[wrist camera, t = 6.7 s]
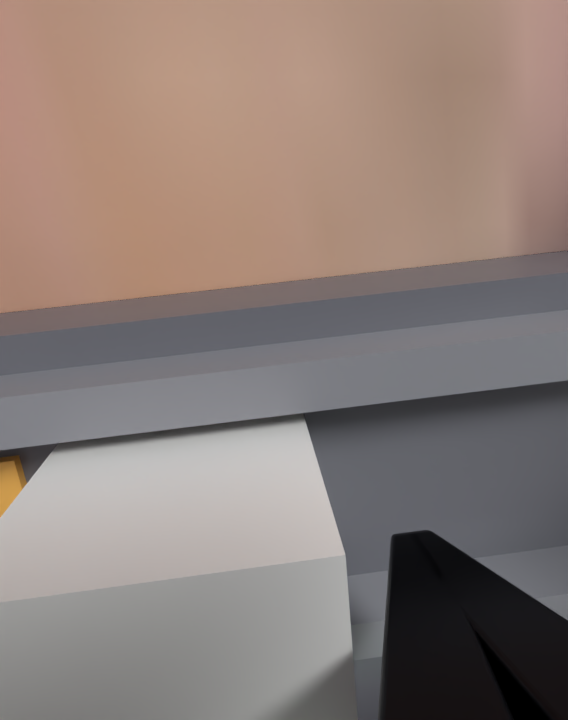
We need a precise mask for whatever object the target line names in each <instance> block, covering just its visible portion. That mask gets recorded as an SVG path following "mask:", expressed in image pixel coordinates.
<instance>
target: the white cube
mask: <svg viewBox="0 0 568 720" xmlns="http://www.w3.org/2000/svg"><path fill="white" fill-rule="evenodd" d="M0 720H358V715H357V702H356V688H355V675H354V661H353V648H352V635H351V621H350V608H349V594H348V581H347V568H346V555H345V551H344V548H343V545H342V541H341V538H340V535H339V531H338V528H337V525H336V521H335V518H334V515H333V511H332V508H331V505H330V501H329V498H328V495H327V491H326V488H325V485H324V481H323V478H322V475H321V471H320V468H319V465H318V461H317V458H316V455H315V451H314V448H313V445H312V441H311V438H310V435H309V431H308V428H307V425H306V421H305V418H304V415H303V413H299V414H291V415H283V416H275V417H266V418H258V419H250V420H242V421H234V422H226V423H218V424H210V425H202V426H193V427H185V428H177V429H169V430H161V431H153V432H145V433H137V434H129V435H120V436H112V437H104V438H96V439H88V440H80V441H72V442H64V443H58V444H57V446H56V447H55V448H54V450H53V451H52V452H51V453H50V455H49V456H48V457H47V459H46V460H45V461H44V462H43V464H42V465H41V466H40V468H39V469H38V470H37V471H36V473H35V474H34V475H33V476H32V478H31V479H30V480H29V482H28V483H27V484H26V485H25V487H24V488H23V489H22V491H21V492H20V493H19V494H18V496H17V497H16V498H15V500H14V501H13V502H12V503H11V505H10V506H9V507H8V508H7V510H6V511H5V512H4V514H3V515H2V516H1V517H0Z"/></svg>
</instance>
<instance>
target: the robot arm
mask: <svg viewBox="0 0 568 720" xmlns="http://www.w3.org/2000/svg"><path fill="white" fill-rule="evenodd" d="M378 720H568V620H567V619H565V618H563V617H562V616H560V615H559V614H557V613H556V612H554V611H553V610H551V609H550V608H548V607H547V606H545V605H544V604H542V603H541V602H539V601H538V600H536V599H535V598H533V597H531V596H530V595H528V594H527V593H525V592H524V591H522V590H521V589H519V588H518V587H516V586H515V585H513V584H512V583H510V582H509V581H507V580H506V579H504V578H503V577H501V576H500V575H498V574H496V573H495V572H493V571H492V570H490V569H489V568H487V567H486V566H484V565H483V564H481V563H480V562H478V561H477V560H475V559H474V558H472V557H471V556H469V555H468V554H466V553H464V552H463V551H461V550H460V549H458V548H457V547H455V546H454V545H452V544H451V543H449V542H448V541H446V540H445V539H443V538H442V537H440V536H439V535H437V534H436V533H434V532H432V531H430V530H420V531H412V532H405V533H397V534H393V535H392V536H391V541H390V555H389V568H388V582H387V596H386V610H385V624H384V638H383V652H382V666H381V680H380V693H379V707H378Z"/></svg>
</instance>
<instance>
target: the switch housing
mask: <svg viewBox="0 0 568 720" xmlns="http://www.w3.org/2000/svg"><path fill="white" fill-rule="evenodd" d="M299 413H303V415H304V418H305V421H306V425H307V428H308V431H309V435H310V438H311V441H312V445H313V448H314V451H315V455H316V458H317V461H318V465H319V468H320V471H321V475H322V478H323V481H324V485H325V488H326V491H327V495H328V498H329V501H330V505H331V508H332V511H333V515H334V518H335V521H336V525H337V528H338V531H339V535H340V538H341V541H342V545H343V548H344V551H345V555H346V568H347V581H348V594H349V608H350V621H351V635H352V648H353V661H354V675H355V688H356V702H357V715H358V720H378V707H379V693H380V680H381V666H382V652H383V638H384V624H385V610H386V596H387V582H388V568H389V555H390V541H391V536H392V535H393V534H397V533H405V532H412V531H420V530H430V531H432V532H434V533H436V534H437V535H439V536H440V537H442V538H443V539H445V540H446V541H448V542H449V543H451V544H452V545H454V546H455V547H457V548H458V549H460V550H461V551H463V552H464V553H466V554H468V555H469V556H471V557H472V558H474V559H475V560H477V561H478V562H480V563H481V564H483V565H484V566H486V567H487V568H489V569H490V570H492V571H493V572H495V573H496V574H498V575H500V576H501V577H503V578H504V579H506V580H507V581H509V582H510V583H512V584H513V585H515V586H516V587H518V588H519V589H521V590H522V591H524V592H525V593H527V594H528V595H530V596H531V597H533V598H535V599H536V600H538V601H539V602H541V603H542V604H544V605H545V606H547V607H548V608H550V609H551V610H553V611H554V612H556V613H557V614H559V615H560V616H562V617H563V618H565V619H567V620H568V251H560V252H551V253H542V254H533V255H524V256H515V257H506V258H497V259H488V260H479V261H470V262H461V263H452V264H443V265H434V266H425V267H416V268H406V269H397V270H388V271H379V272H370V273H361V274H352V275H343V276H334V277H325V278H316V279H307V280H298V281H289V282H280V283H271V284H262V285H253V286H244V287H235V288H226V289H217V290H208V291H199V292H190V293H180V294H171V295H162V296H153V297H144V298H135V299H126V300H117V301H108V302H99V303H90V304H81V305H72V306H63V307H54V308H45V309H36V310H27V311H18V312H9V313H0V517H1V516H2V515H3V514H4V512H5V511H6V510H7V508H8V507H9V506H10V505H11V503H12V502H13V501H14V500H15V498H16V497H17V496H18V494H19V493H20V492H21V491H22V489H23V488H24V487H25V485H26V484H27V483H28V482H29V480H30V479H31V478H32V476H33V475H34V474H35V473H36V471H37V470H38V469H39V468H40V466H41V465H42V464H43V462H44V461H45V460H46V459H47V457H48V456H49V455H50V453H51V452H52V451H53V450H54V448H55V447H56V446H57V444H58V443H64V442H72V441H80V440H88V439H96V438H104V437H112V436H120V435H129V434H137V433H145V432H153V431H161V430H169V429H177V428H185V427H193V426H202V425H210V424H218V423H226V422H234V421H242V420H250V419H258V418H266V417H275V416H283V415H291V414H299Z"/></svg>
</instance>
